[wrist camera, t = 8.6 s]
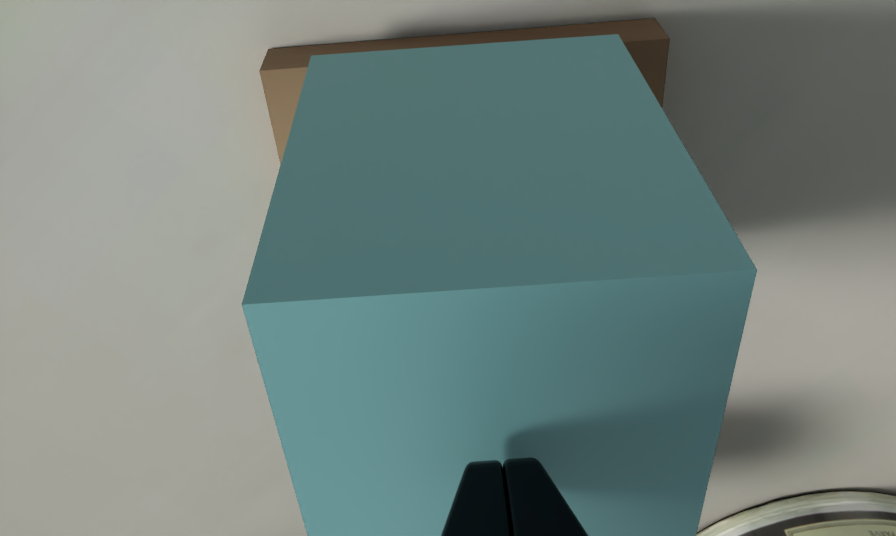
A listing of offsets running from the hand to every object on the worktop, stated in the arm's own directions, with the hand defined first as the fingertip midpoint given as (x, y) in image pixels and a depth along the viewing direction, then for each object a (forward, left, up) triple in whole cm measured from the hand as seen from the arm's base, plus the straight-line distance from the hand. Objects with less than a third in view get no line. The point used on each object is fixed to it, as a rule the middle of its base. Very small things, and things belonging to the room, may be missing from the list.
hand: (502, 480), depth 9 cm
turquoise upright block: (0, 0, -7) cm, 7 cm away
